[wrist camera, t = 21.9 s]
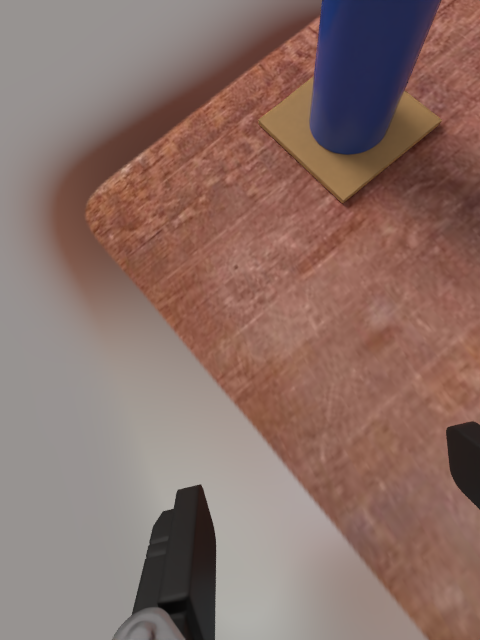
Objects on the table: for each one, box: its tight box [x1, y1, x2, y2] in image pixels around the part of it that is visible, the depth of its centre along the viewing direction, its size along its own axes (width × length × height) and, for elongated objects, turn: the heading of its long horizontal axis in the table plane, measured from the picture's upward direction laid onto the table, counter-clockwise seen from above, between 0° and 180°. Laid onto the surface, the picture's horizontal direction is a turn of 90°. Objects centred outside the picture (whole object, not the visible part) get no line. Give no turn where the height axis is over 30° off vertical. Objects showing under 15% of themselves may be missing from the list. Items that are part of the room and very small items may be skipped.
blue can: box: [309, 0, 441, 155], centre depth 17 cm, size 5×5×12 cm
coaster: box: [258, 77, 442, 204], centre depth 23 cm, size 8×8×1 cm
